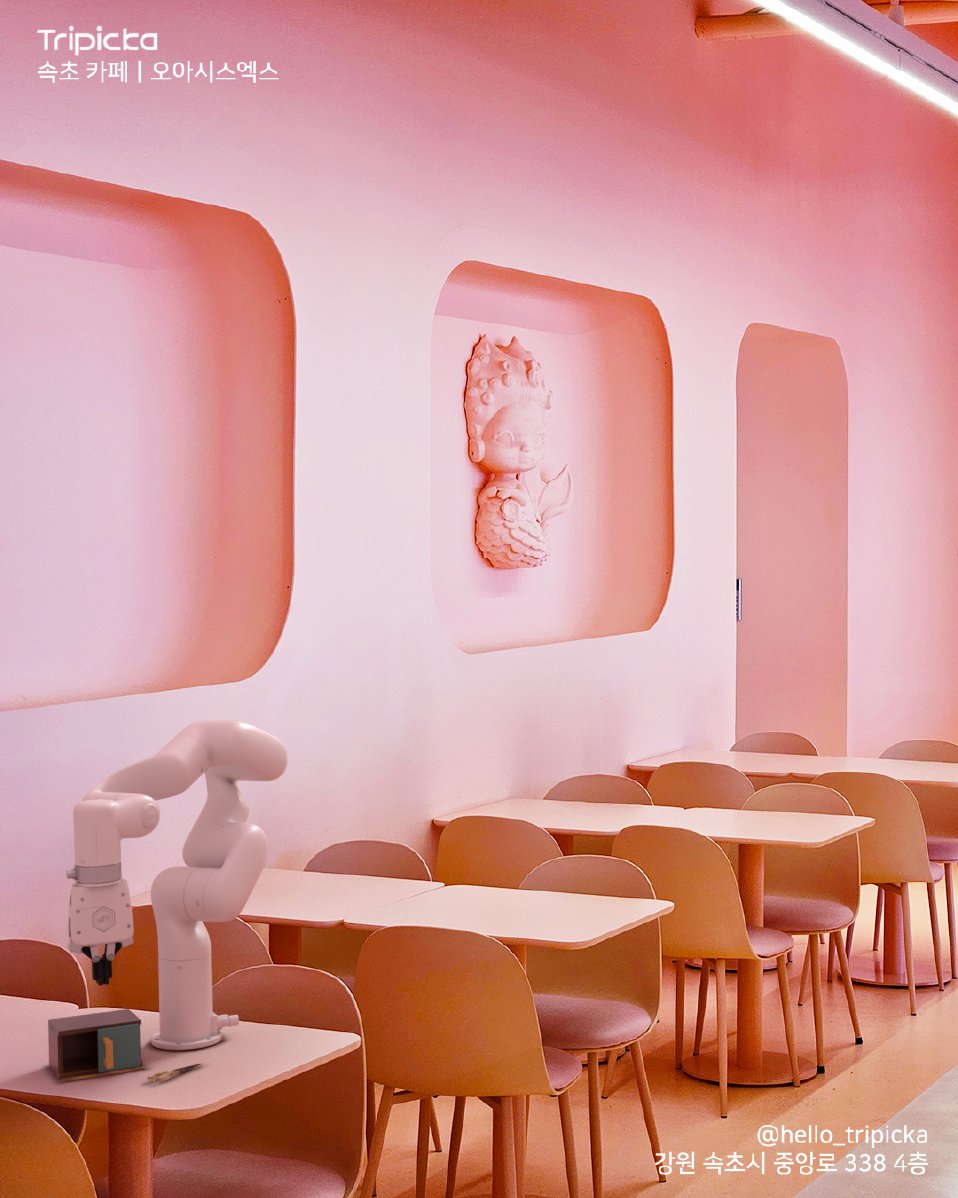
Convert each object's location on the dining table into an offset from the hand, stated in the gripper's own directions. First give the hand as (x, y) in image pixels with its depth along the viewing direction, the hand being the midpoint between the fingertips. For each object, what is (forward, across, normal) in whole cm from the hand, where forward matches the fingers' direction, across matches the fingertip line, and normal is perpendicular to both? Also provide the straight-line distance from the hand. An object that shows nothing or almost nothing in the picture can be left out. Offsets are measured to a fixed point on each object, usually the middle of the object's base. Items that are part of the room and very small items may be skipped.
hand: (102, 983), depth 256 cm
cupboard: (+16, 0, +8) cm, 18 cm away
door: (+16, +3, +1) cm, 16 cm away
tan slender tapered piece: (+16, +11, -5) cm, 20 cm away
